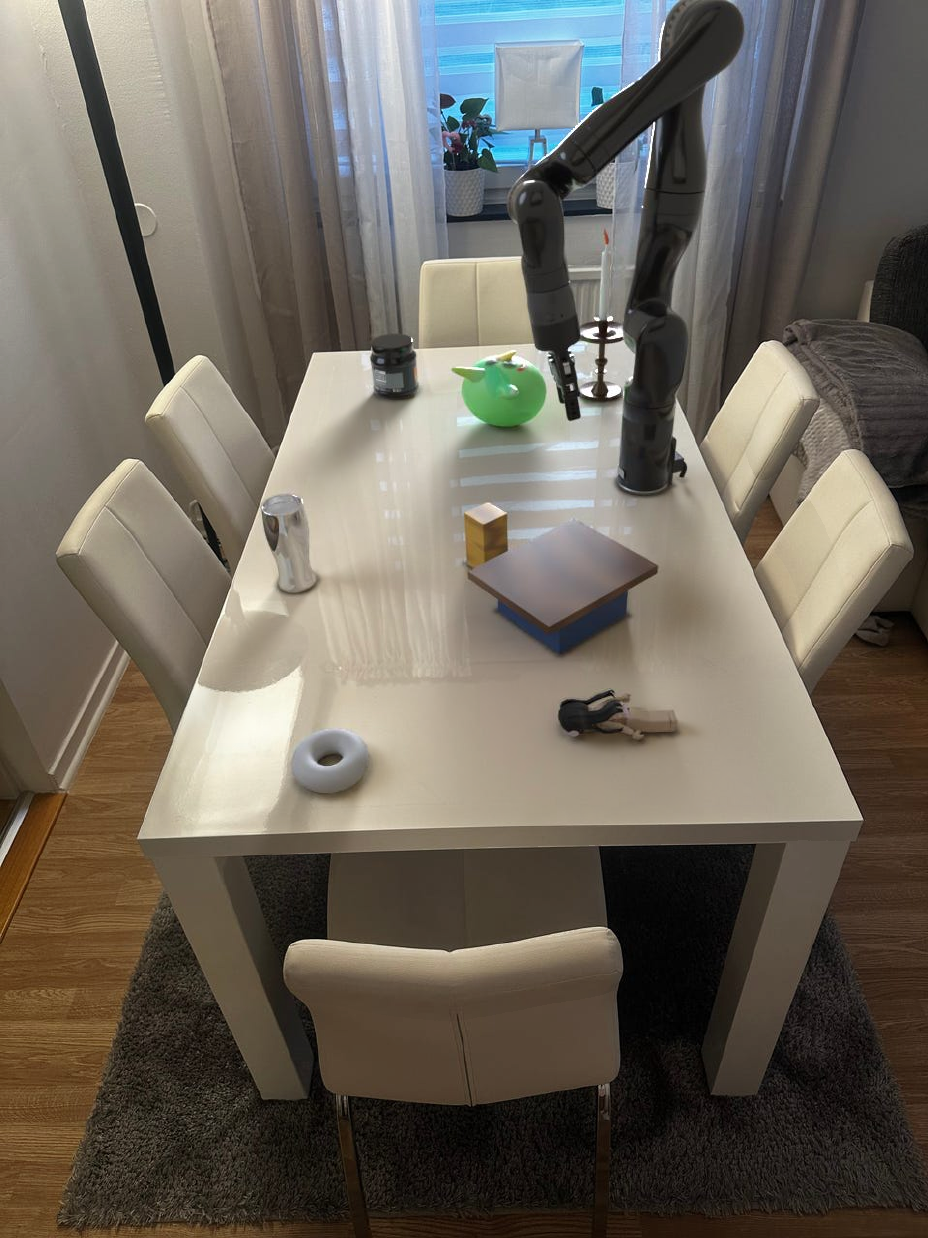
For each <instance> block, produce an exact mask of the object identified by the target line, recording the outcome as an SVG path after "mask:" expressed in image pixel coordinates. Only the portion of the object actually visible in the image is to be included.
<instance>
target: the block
mask: <svg viewBox="0 0 928 1238" xmlns="http://www.w3.org/2000/svg"><path fill="white" fill-rule="evenodd" d="M463 522H464V523H463V524H464V542H465V559H466V560H465V561H466V564H467V565H468V566H469V567H471V568H472V569H473V568H475V567H477V566H479V565H481V564H483V563H485V562H487V561H489V560H491V559H493V558H495V557H497V556H499V555H501V554H503V553H505V552H507V551H509V544H508V543H509V542H508V541H509V540H508V539H509V538H508V536H509V535H508V534H509V533H508V513H507V512H506V511H504V510H502V509H500V508H499V507H497V506H495V505H494V504H492V503H490V502H488V501H486V502H483V503H482V504H480V505H477V506H475V507H473V508H471V509H469V510H466V511H464V512H463Z"/></svg>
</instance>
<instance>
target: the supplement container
mask: <svg viewBox="0 0 928 1238" xmlns="http://www.w3.org/2000/svg"><path fill="white" fill-rule="evenodd" d="M414 346H415V345H414V339H413V337H411V336H410V335H409V334H404V333H386V334H381V335H378V336H376V337H374V338H373V339H372V340H371V341H370V350H371V354H370V356H369V361H370V365H371V374H372V375H371V376H372V382H373V391H374V393H375V394H376V395H377V396H378V397H380V398H382V399H385V400H402V399H406V398H407V399H408V398H410V397H411V396H413V395H414V394H416V393H417V392H418V390H419V387H420V383H419V376H418V375H419V373H418V362H417V358H418V356H417V352H416V351H415V350H414V348H415V347H414Z"/></svg>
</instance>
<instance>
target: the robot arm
mask: <svg viewBox="0 0 928 1238" xmlns="http://www.w3.org/2000/svg"><path fill="white" fill-rule="evenodd" d="M745 25H746V24H745V19H744V17H743V14H742V12H741V10H740V8H738V6H737V5H735V4H734V3H733V2H731V1H729V0H679V1H677V2H676V3H675V4H674V6H672V8H671V9H670V10H669V12H668V13H667V15H666V17H665V20H664V22H663V25H662V28H661V33H660V38H659V48H658V49H659V51H658V61H657V62H656V63H655V64H654V65H653V66H652V67H651V68H650V69H649V70H647V72H645V73H644V74H643V75H642V76H640V77H639V78H638V79H637V80H635V81H634V82H632V83H631V84H629V85H628V86H627V87H625V88H623V89H622V90H621V91H619V92H618V93H616V94H614V95H613V96H611V97H610V98H608V99H606V100H605V101H604V102H602V104H600V105H599V106H598V107H596V108H595V109H594V110H592V112H590V113H589V114H588V115H587V116H586V117H585V118H584V119H583V120H581V122H580V123H578V125H576V126H575V128H573V130H571V132H569V133H568V135H567V136H566V137H564V139H563V140H562V141H561V142H560V143H559V144H558V146H557V147H555V149H553V150H552V151H551V152H550V153H549V154H546V156H544V157H543V158H542V159H541V160H539V161H538V162H537V163H536V164H534V165H533V166H532V167H531V168H529V169H527V171H526V172H525V173H524V174H522V175H521V176H520V178H518V179H517V180H516V182H515V183H514V184H513V185H512V187H511V188H510V190H509V192H508V194H507V197H506V210H507V214H508V216H509V217H510V219H511V220H512V221H513V223H515V224H516V225H517V227H518V231H519V236H520V237H519V238H520V242H521V248H522V254H521V259H520V265H521V271H522V278H523V283H524V288H525V295H526V306H527V313H528V317H529V323H530V328H531V329H530V330H531V333H532V339H533V344H534V348H535V349H536V350H537V351H540V352H547V353H548V355H547V356H546V357H547V363H548V367H549V371H550V374H551V376H553V377H552V379H553V381H554V383H555V386H556V392H557V397H558V398H557V399H558V402H559V403H560V404H562V405H563V404H564V409H565V414H566V419H567V421H569V422H572V421H577V420H579V419H581V417H582V414H581V409H580V402H579V398H580V397H581V396H580V387H579V382H578V379H579V378H578V374H577V370H576V359H575V355H574V354H572V353H573V352H572V350H571V349H570V348H571V347H572V346H574V345H576V344H578V343H579V341H581V339H580V338H581V334H580V328H579V327H580V321H579V316H578V310H577V304H576V303H577V302H576V297H575V293H574V289H573V286H572V281H571V278H570V270H569V265H568V259H567V255H566V251H565V250H566V249H565V248H566V247H565V245H566V244H565V243H566V241H565V239H566V234H565V216H564V209H563V208H564V207H563V204H562V203H563V201H564V200H566V199H567V198H568V197H569V196H570V195H571V194H572V193H573V192H575V191H576V190H580V189H583V188H585V187H587V186H588V185H589V184H591V183H592V182H593V181H594V180H595V179H596V178H597V177H599V176H600V175H601V174H602V173H603V171H605V170H606V168H608V166H609V165H611V164H612V163H613V162H614V161H615V160H616V158H618V157H619V156H620V155H621V154H622V153H623V152H624V151H625V150H626V149H627V148H628V147H629V146H630V145H631V144H633V142H634V141H636V139H637V138H638V137H640V136H641V135H642V134H643V133H644V132H646V131H647V130H648V129H649V128H650V127H651V126H652V125H653V129H652V136H651V143H650V151H649V157H648V165H647V172H646V177H645V184H644V191H643V196H642V197H643V198H642V205H641V212H640V213H641V214H640V223H639V230H638V231H639V232H638V239H637V246H636V256H635V261H634V262H635V263H634V269H633V275H632V280H631V284H630V288H629V292H628V297H627V301H626V305H625V309H624V313H623V318H622V323H621V324H622V336H623V339H624V340H623V342H624V344H625V345H626V347H627V348H628V349H629V351H631V353H633V354H634V364H633V373H632V376H630V377H629V378H627V379H626V381H625V382H624V386H623V398H622V411H621V412H622V414H621V429H620V443H619V456H618V457H619V458H618V465H617V466H616V467H617V469H616V472H617V479H616V482H617V487H619V488H620V489H621V490H622V491H624V492H626V493H629V494H632V495H636V496H652V495H657V494H659V493H663V491H665V490H666V489H667V488H668V487H671V486H673V477H674V474H675V473H679V474H678V478H681V479H684V478H685V476H686V473H687V471H688V465H687V462H686V461H685V457H683V456H682V455H681V454H680V453H679V452H678V451H677V438H676V437H675V436H673V435H674V427H675V418H676V417H675V416H676V406H677V398H678V392H679V390H680V388H681V386H682V385H683V381H684V375H685V370H686V364H687V357H688V351H689V341H690V337H689V336H690V335H689V334H690V333H689V328H688V325H687V323H686V321H685V320H684V319H683V318H682V317H681V316H680V315H679V314H678V313H677V312H676V311H675V310H673V309H672V302H673V291H674V284H675V278H676V273H677V270H678V267H679V265H680V261H681V259H682V258H683V256H684V254H685V252H686V250H687V249H688V247H689V245H690V243H691V241H692V240H693V237H694V236H695V233H696V232H697V229H698V226H699V224H700V220H701V216H702V211H703V205H704V202H705V201H704V199H705V195H706V189H707V179H708V162H707V160H708V159H707V152H706V143H705V136H704V128H703V104H704V99H705V98H704V97H705V92H706V86H707V84H708V83H709V82H710V81H711V80H713V79H714V78H715V77H716V76H718V75H719V74H720V73H722V72H723V71H724V70H726V69H727V68H728V67H729V66H730V65H731V64H732V63H733V62H734V60H735V59H736V58H737V56H738V54H739V52H740V51H741V48H742V45H743V43H744V39H745V34H746V33H745V32H746V31H745V28H746V27H745ZM571 386H572V390H571Z"/></svg>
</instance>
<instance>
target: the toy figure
mask: <svg viewBox="0 0 928 1238" xmlns="http://www.w3.org/2000/svg"><path fill="white" fill-rule="evenodd" d="M608 689H609V690H608ZM615 696H616V692H615V690H614V689H612V688H611V687H609V688H607V690H604V691H603V690H601V691H600V692H599V693H598V692H596V693H594V694H593V695H591V696H590V697H588V698H587V699H580V698H578V697H575V698H565V697H564V698H561V699H560V702H559V703H558V704H559V709H558V712H557V719H558V722H559V724H560V727H561V728H562V729H563V731H564V734H565V735H568V736H570V737H572V738H575V737H577V736H579V735H581V734H582V735H583V734H584V735H585V734H591V731H592V733H601V734H604V735H611V734H616V733H617V734H619V733H623V734H627V735H629V736H631V737H632V739H633V740H641V739H642V738H643V737H644V736H645V735H644V734H641V733H642V732H643V733H667V732H668V733H669V732H675V730H676V728H677V724H678V718H677V715H676V713H675V710H674V709H668V710H667V709H662V710H660V709H659V710H646V709H641V708H636V707H634V708H629V707H628V706H627V704H628V703H629V702H630V701H631V696H632V694H631V693H623V695H621V696H617V697H615ZM608 697H612V698H608ZM605 698H608V699H606V700H604V701H602V702H600V703H598V704H596V705H595V706H594V707H593V708H591V706H590V705H591V704H594V703H596V702H597V701H600V700H603V699H605ZM561 700H562V701H561ZM622 702H623V703H622Z"/></svg>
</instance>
